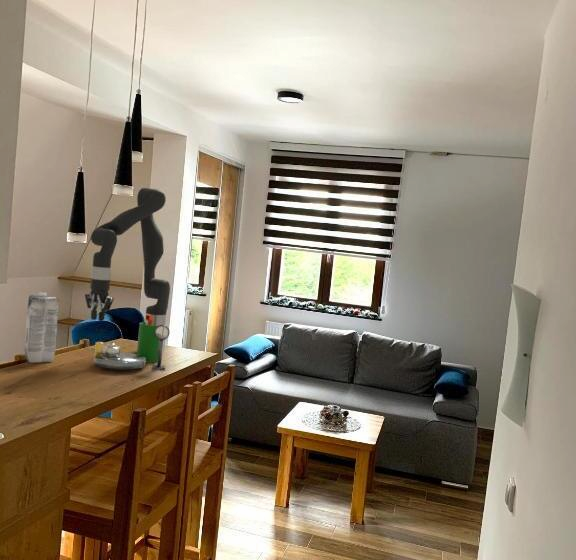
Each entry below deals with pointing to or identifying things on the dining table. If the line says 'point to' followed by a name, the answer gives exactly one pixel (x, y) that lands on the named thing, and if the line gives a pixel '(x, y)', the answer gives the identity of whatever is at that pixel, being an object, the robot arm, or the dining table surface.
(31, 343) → the juice carton
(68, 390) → the dining table surface
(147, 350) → the green bottle
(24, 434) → the dining table surface
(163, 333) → the metal disc on rod
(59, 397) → the dining table surface
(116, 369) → the turntable base
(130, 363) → the turntable
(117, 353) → the cover
